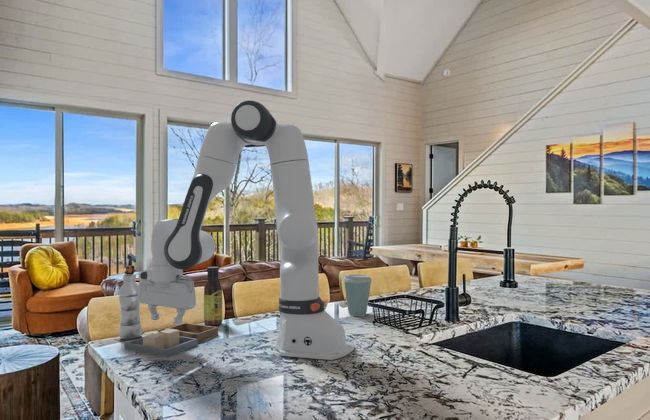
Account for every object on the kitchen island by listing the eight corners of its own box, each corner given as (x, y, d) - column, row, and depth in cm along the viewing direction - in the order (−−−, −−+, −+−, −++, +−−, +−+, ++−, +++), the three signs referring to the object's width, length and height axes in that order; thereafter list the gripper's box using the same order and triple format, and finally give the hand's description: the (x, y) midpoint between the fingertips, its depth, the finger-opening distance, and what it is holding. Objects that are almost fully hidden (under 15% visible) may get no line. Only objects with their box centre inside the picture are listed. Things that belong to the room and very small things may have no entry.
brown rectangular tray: (218, 336, 143) (218, 327, 143) (197, 344, 135) (197, 334, 135) (185, 331, 150) (185, 322, 150) (164, 338, 142) (163, 329, 142)
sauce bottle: (217, 326, 156) (216, 268, 156) (200, 326, 158) (199, 268, 158) (225, 322, 163) (224, 266, 163) (209, 321, 164) (208, 266, 164)
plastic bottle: (146, 337, 144) (145, 274, 144) (129, 343, 138) (128, 277, 138) (131, 335, 147) (130, 273, 147) (114, 341, 140) (113, 276, 140)
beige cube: (164, 348, 130) (164, 334, 130) (154, 352, 126) (154, 338, 126) (152, 347, 131) (152, 333, 131) (143, 351, 128) (142, 337, 128)
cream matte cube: (179, 343, 135) (179, 330, 135) (168, 347, 131) (168, 333, 131) (169, 341, 136) (169, 328, 136) (159, 345, 133) (158, 331, 133)
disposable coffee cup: (356, 310, 178) (355, 271, 178) (378, 314, 171) (377, 274, 171) (337, 315, 171) (337, 274, 171) (360, 319, 163) (359, 277, 163)
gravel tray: (197, 347, 133) (197, 338, 133) (165, 359, 122) (164, 350, 122) (158, 340, 140) (158, 332, 140) (125, 351, 130) (124, 342, 130)
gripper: (201, 275, 132) (200, 323, 132) (151, 270, 141) (151, 315, 141) (184, 278, 126) (184, 328, 126) (134, 272, 136) (134, 319, 136)
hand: (166, 321), depth 134 cm, fingers open, 8 cm apart
